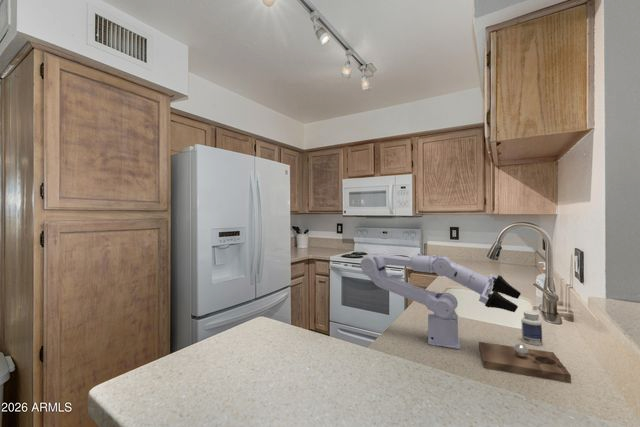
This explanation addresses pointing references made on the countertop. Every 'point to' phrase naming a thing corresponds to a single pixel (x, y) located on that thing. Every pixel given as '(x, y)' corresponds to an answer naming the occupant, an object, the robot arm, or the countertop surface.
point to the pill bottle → (531, 328)
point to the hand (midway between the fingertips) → (517, 302)
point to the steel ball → (521, 350)
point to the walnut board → (523, 362)
